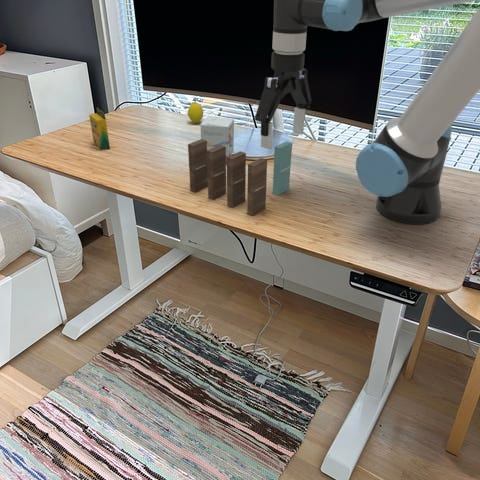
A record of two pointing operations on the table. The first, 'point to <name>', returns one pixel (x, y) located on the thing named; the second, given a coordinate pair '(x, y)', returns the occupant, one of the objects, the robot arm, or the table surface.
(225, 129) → the ink box
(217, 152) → the domino
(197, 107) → the fruit
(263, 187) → the domino
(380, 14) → the robot arm
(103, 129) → the crayon box
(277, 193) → the domino
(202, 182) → the domino
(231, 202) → the domino
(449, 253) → the table surface
